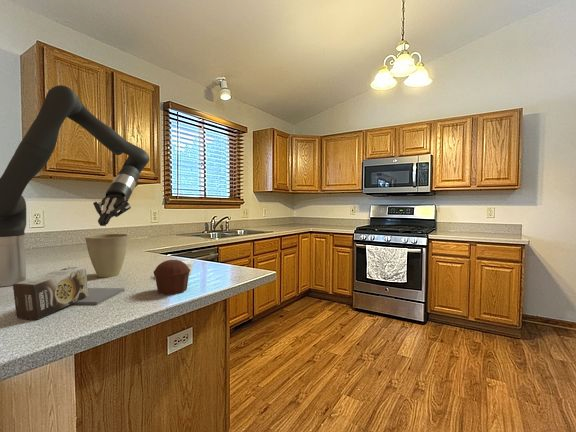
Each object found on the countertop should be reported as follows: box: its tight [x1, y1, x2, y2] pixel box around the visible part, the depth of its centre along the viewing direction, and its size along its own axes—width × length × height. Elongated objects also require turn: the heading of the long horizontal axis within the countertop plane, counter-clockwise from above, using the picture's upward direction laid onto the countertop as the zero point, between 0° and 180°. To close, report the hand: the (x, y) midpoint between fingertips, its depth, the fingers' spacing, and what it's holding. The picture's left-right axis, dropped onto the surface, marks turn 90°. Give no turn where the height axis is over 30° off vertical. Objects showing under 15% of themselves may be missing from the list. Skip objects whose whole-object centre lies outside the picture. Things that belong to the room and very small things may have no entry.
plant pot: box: [84, 233, 129, 278], centre depth 122 cm, size 15×15×16 cm
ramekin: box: [178, 259, 194, 276], centre depth 123 cm, size 11×11×5 cm
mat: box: [69, 287, 125, 306], centre depth 94 cm, size 16×14×1 cm
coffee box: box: [12, 265, 89, 321], centre depth 83 cm, size 9×6×16 cm
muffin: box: [153, 259, 190, 296], centre depth 100 cm, size 12×11×10 cm
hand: (101, 224), depth 102 cm, fingers closed
